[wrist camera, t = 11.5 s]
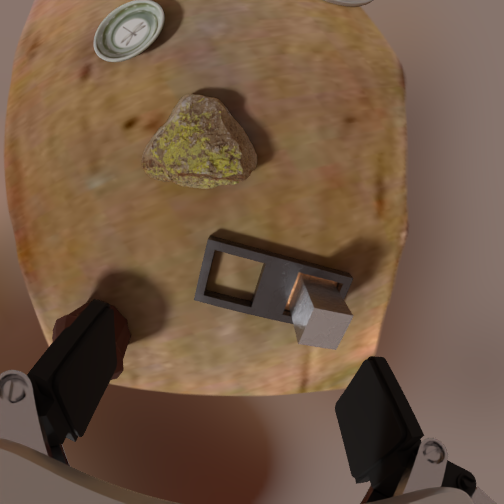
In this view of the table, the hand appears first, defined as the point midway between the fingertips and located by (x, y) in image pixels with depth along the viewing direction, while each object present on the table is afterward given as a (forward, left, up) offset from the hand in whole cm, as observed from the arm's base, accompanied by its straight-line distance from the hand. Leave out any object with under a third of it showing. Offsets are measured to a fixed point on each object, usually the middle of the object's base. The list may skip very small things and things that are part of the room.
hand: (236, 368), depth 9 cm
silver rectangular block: (+7, +10, -23) cm, 26 cm away
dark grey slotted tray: (+7, +5, -23) cm, 25 cm away
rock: (-7, -8, -24) cm, 26 cm away
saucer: (-20, -21, -24) cm, 37 cm away
